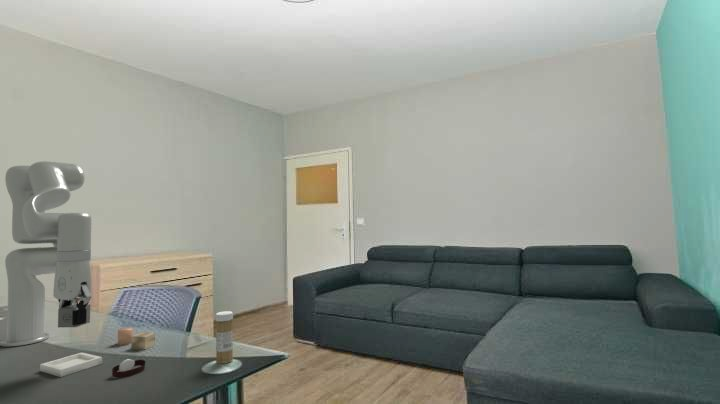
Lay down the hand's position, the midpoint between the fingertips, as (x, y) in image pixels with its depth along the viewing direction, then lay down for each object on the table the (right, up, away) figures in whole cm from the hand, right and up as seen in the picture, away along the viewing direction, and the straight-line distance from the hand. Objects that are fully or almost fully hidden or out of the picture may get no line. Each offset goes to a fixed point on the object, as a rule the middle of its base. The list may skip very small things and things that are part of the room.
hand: (72, 322), depth 103 cm
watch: (+19, -12, -6) cm, 23 cm away
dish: (0, -12, -1) cm, 12 cm away
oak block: (+10, -13, +15) cm, 23 cm away
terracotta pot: (+2, -13, +20) cm, 24 cm away
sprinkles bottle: (+41, -11, +1) cm, 43 cm away
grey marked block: (0, -1, 0) cm, 1 cm away
